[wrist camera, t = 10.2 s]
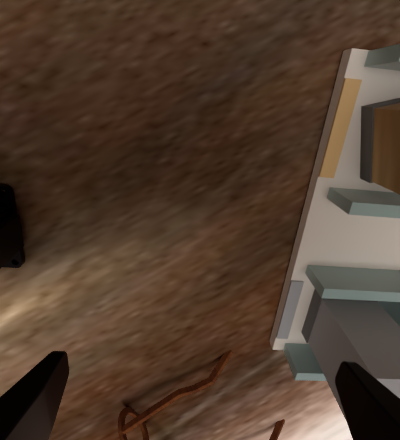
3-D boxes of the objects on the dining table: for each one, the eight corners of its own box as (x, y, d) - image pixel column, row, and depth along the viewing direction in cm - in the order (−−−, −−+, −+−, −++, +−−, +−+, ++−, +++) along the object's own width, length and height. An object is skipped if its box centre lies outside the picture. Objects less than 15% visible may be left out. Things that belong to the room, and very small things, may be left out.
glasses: (120, 396, 30) (108, 451, 25) (230, 345, 27) (238, 395, 23) (187, 456, 35) (187, 512, 30) (285, 417, 32) (301, 470, 28)
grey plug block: (301, 332, 25) (348, 430, 18) (314, 288, 23) (373, 377, 16) (352, 334, 25) (419, 430, 18) (369, 291, 24) (452, 379, 16)
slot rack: (269, 341, 27) (282, 380, 23) (343, 50, 17) (385, 38, 14) (361, 344, 27) (388, 382, 24) (479, 66, 18) (554, 59, 14)
